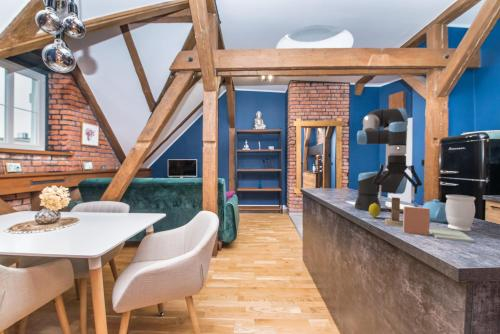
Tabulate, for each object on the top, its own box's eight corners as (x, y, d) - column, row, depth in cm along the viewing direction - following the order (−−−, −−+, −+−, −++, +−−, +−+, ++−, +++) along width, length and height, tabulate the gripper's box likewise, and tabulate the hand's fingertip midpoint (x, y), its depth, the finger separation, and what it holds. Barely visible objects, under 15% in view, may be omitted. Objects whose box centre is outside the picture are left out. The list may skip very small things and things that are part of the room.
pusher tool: (384, 222, 124) (385, 196, 123) (403, 224, 121) (404, 197, 120) (386, 225, 119) (387, 198, 119) (405, 227, 116) (406, 199, 116)
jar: (480, 233, 108) (481, 198, 107) (452, 231, 110) (454, 197, 109) (464, 226, 118) (465, 194, 117) (439, 225, 120) (440, 194, 120)
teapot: (440, 225, 121) (441, 202, 120) (411, 217, 135) (411, 198, 134) (461, 222, 126) (462, 201, 125) (430, 215, 140) (431, 196, 140)
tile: (402, 231, 109) (403, 206, 109) (427, 233, 106) (428, 208, 105) (403, 232, 107) (404, 207, 107) (428, 235, 104) (429, 208, 104)
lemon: (370, 218, 132) (371, 203, 131) (367, 216, 137) (367, 201, 137) (381, 219, 131) (382, 204, 131) (377, 216, 136) (378, 202, 136)
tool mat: (426, 229, 113) (426, 227, 113) (459, 232, 108) (459, 230, 108) (436, 238, 100) (436, 236, 100) (474, 242, 95) (474, 240, 95)
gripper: (368, 154, 120) (367, 198, 120) (430, 154, 111) (429, 202, 111) (367, 155, 127) (366, 196, 127) (426, 155, 118) (424, 200, 118)
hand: (395, 199), depth 119 cm, fingers open, 13 cm apart
